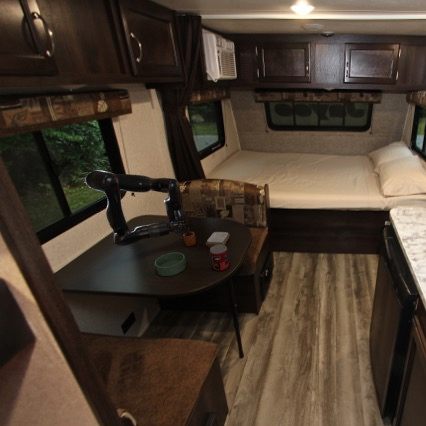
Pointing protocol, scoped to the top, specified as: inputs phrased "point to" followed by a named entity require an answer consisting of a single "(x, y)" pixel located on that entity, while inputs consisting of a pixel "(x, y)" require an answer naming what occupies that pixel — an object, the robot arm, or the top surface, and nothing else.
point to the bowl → (170, 264)
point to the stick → (186, 222)
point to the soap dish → (217, 239)
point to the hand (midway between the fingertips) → (192, 222)
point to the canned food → (219, 257)
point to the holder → (190, 239)
